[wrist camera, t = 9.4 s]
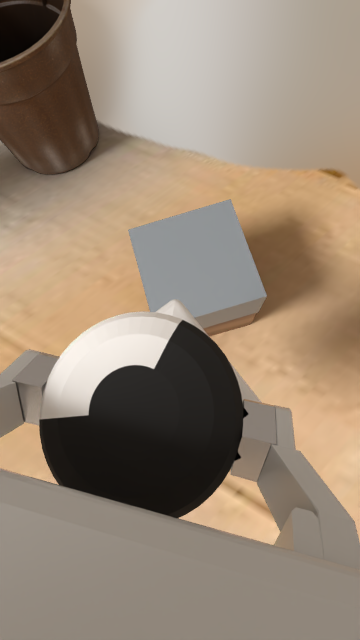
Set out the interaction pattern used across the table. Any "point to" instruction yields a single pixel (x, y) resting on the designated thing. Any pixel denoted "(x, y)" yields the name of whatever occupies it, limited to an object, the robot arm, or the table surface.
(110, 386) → the medicine bottle
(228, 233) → the tower top block
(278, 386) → the table surface
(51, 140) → the plant pot
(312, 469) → the robot arm
